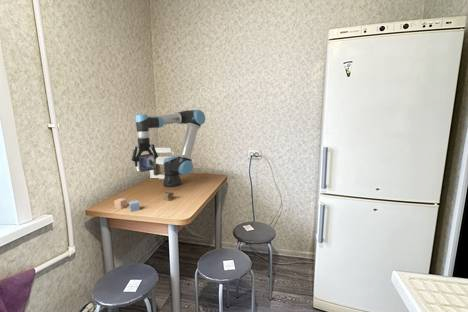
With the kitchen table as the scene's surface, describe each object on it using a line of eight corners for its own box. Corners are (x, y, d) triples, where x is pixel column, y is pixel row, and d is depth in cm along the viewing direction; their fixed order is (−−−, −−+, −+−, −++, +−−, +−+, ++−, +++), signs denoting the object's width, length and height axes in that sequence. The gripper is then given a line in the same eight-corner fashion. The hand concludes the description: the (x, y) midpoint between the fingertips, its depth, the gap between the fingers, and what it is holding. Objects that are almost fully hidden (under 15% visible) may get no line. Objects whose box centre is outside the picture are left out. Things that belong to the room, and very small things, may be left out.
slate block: (138, 207, 156) (137, 200, 156) (139, 210, 152) (139, 202, 151) (129, 209, 154) (129, 201, 153) (131, 212, 150) (130, 204, 149)
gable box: (178, 175, 236) (176, 146, 232) (172, 179, 224) (170, 148, 219) (156, 175, 240) (154, 146, 235) (150, 178, 227) (147, 148, 222)
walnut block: (169, 197, 173) (168, 191, 173) (173, 199, 171) (173, 192, 170) (163, 200, 169) (162, 193, 168) (168, 201, 167) (167, 194, 166)
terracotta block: (120, 205, 161) (120, 198, 160) (127, 206, 159) (126, 198, 158) (114, 208, 156) (114, 200, 155) (121, 209, 155) (120, 201, 154)
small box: (141, 172, 164) (140, 156, 162) (136, 171, 168) (135, 155, 166) (155, 169, 172) (154, 154, 170) (150, 168, 176) (149, 153, 174)
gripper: (156, 135, 177) (158, 165, 180) (123, 138, 160) (127, 171, 164) (161, 136, 171) (164, 167, 175) (128, 139, 155) (132, 173, 159)
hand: (146, 169), depth 170 cm, fingers closed on small box, 11 cm apart
